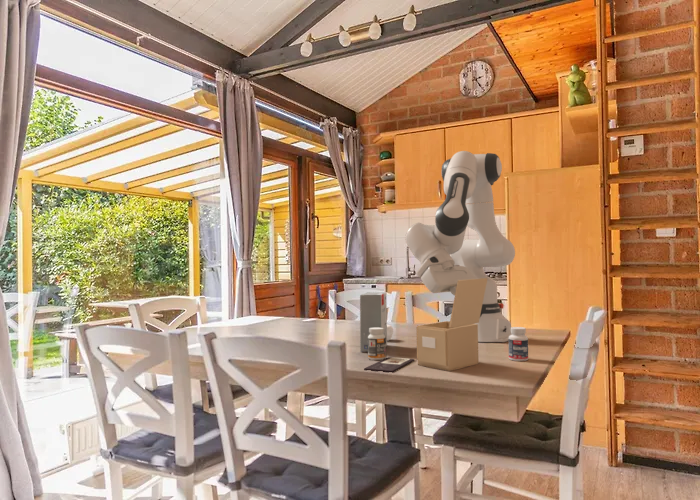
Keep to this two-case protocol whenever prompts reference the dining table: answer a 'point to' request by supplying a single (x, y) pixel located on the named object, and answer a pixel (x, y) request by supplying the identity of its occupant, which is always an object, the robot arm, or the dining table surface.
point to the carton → (447, 345)
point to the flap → (468, 302)
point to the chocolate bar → (389, 364)
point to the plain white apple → (389, 332)
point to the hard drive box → (372, 316)
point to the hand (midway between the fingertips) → (466, 299)
